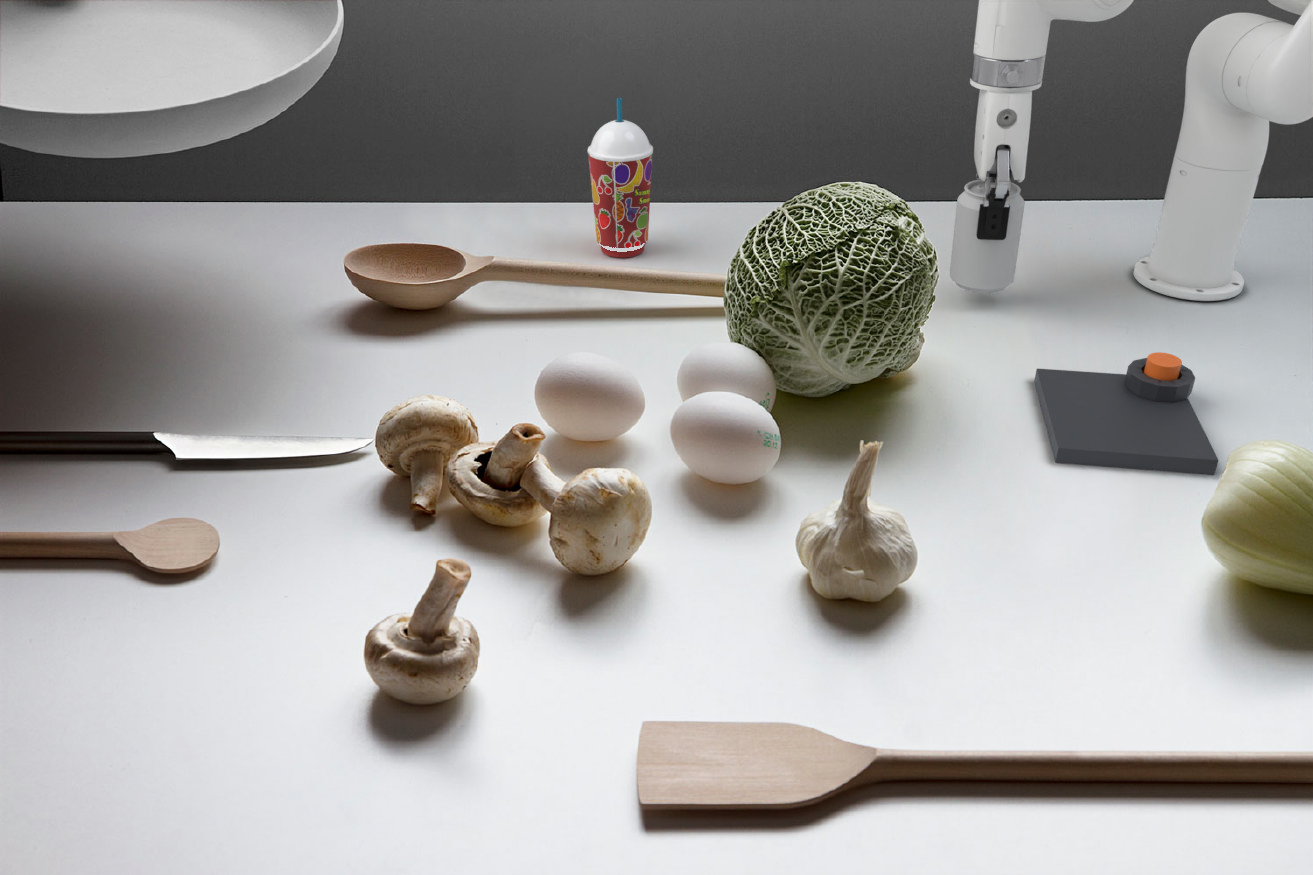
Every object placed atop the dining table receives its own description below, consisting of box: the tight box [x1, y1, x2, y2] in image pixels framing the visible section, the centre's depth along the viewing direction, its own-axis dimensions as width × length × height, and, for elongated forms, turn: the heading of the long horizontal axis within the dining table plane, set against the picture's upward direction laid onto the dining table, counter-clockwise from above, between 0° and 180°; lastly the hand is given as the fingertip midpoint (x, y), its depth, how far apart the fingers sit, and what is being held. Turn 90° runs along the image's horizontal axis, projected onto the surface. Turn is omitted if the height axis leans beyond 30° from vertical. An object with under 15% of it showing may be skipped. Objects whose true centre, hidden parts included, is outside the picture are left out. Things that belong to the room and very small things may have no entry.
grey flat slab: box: [1033, 357, 1219, 476], centre depth 110 cm, size 17×14×4 cm
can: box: [948, 179, 1026, 294], centre depth 132 cm, size 8×8×12 cm
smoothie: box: [587, 97, 654, 259], centre depth 146 cm, size 8×8×20 cm
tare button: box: [1144, 351, 1183, 381], centre depth 113 cm, size 3×3×2 cm
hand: (987, 224), depth 131 cm, fingers closed on can, 7 cm apart
